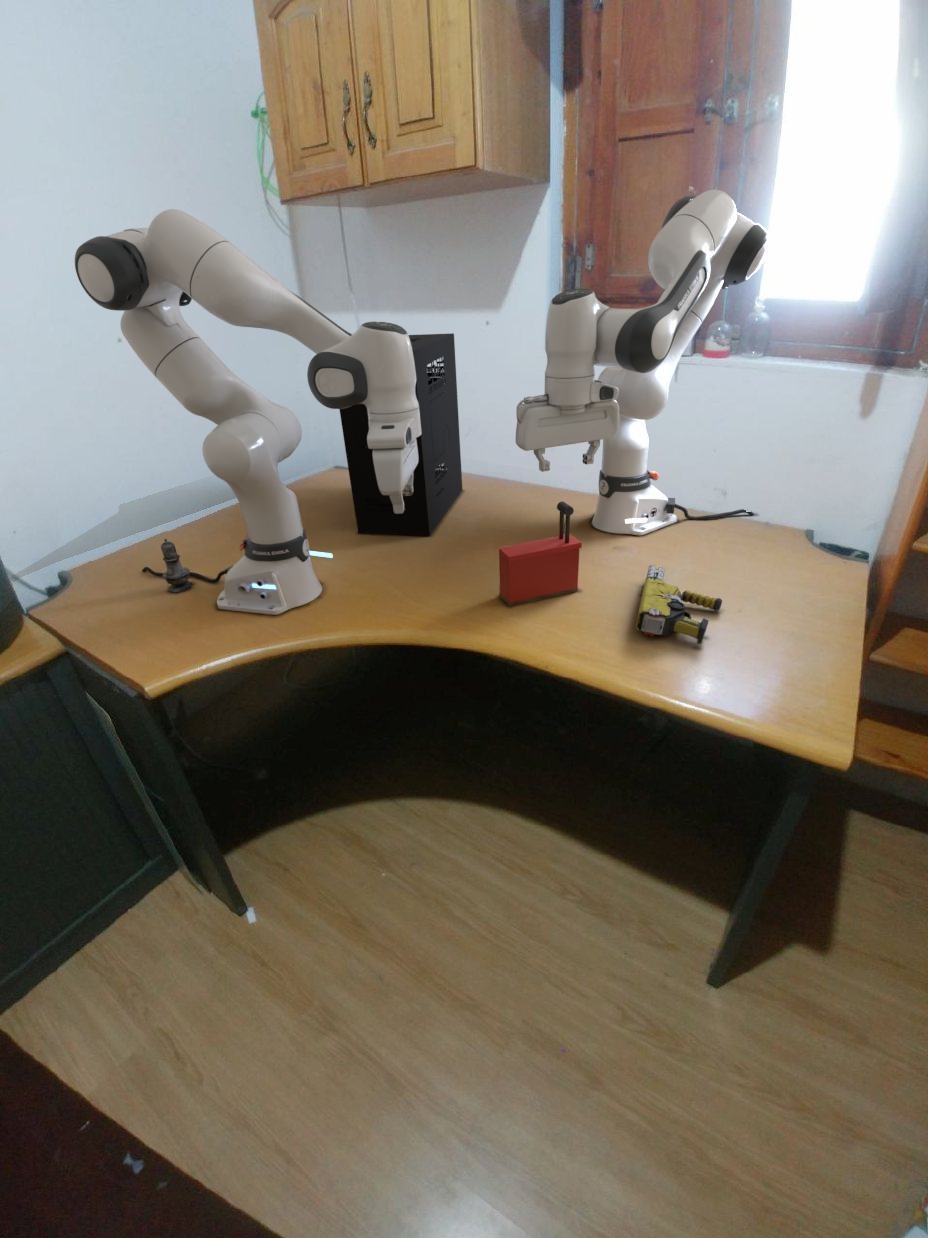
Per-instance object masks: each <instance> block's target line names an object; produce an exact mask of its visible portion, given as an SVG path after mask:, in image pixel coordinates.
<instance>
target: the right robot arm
mask: <svg viewBox="0 0 928 1238" xmlns="http://www.w3.org/2000/svg"><path fill="white" fill-rule="evenodd" d="M770 244H771V234H770V232H769V231H768V230H767V229H766V228H765V227H764V226H763V225H761V224H760V223H759V222H757V223H755V222H753V221H752V220H751V219H749V218H747V217H746V216H745V215H743V214H741V213H739V212H737V208H736V204H735V202H734V200H733V198H732V197H730V195H729V194H727V193H726V192H725V191H723V190H719V189H709V190H705V191H704V192H701V193H699V195H697V196H695V195H686V196H683V197H681V198H679V199H677V200H676V201H675V202H674V203H673V205H672V206H671V208H670V209H669V210H668V212H667V214H666V216H665V218H664V220H663V223H662V225H661V229H660V230H659V231H658V233H657V234H656V235H655V237H654V238H653V240H652V242H651V244H650V246H649V248H648V254H647V263H648V268H649V272H650V273H651V277H652V278H653V280H654V281H655V283H656V284H657V285H658V286H659V287H660V288H661V289H663V290H664V291H663V293H662V294H661V295H660V297H659V298H658V300H657V301H656V302H655V303H654V304H653V305H648V306H646V307H645V306H644V307H639V308H617V307H610V306H608V305H606V304H604V303H602V302H601V301H600V300H599V299H598V298H597V296H596V293H595V291H594V290H592V289H589V288H575V289H572V290H565V291H562V292H560V293H558V294H556V295H555V296H554V297H553V298H552V299H551V300H550V303H549V304H548V305H549V306H548V309H547V315H546V320H545V321H546V322H545V336H544V338H545V339H544V351H545V354H546V367H545V371H544V393H543V394H540V395H535V396H526V397H524V398H523V399H522V400H520V401H519V402H518V403H517V406H516V428H515V444H516V446H517V447H518V448H519V449H521V450H523V451H524V452H530V451H533V455H534V456H535V458H536V459H537V461H538V470H539V471H540V472H542V473H544V472H548V471H550V470H551V467H550V466H551V462H550V461H549V460H547V459H545V457H544V455H545V454H546V449H549V448H556V447H563V446H568V445H576V444H582V443H587V444H588V445H589V447H588V448H587V451H586V452H585V453H582V464H584V465H587V466H588V465H592V464H594V460H595V455H596V453H597V451H598V450H599V448H600V446H601V441H602V453H601V468H600V470H599V474H598V492H599V493H598V498H597V502H596V507H595V511H594V514H593V517H592V520H591V525H592V526H593V527H594V528H595V529H597V530H599V531H601V532H605V533H611V534H623V535H625V534H626V535H632V536H633V535H634V536H645V535H646V534H650V533H652V532H654V531H657V530H660V529H662V528H665V527H668V526H670V525H672V524H675V523H677V522H678V516H677V515H676V514H675V509H677V510H680V511H681V512H683V515H684V518H686V519H688V520H691V521H702V520H709V519H719V518H723V517H729V516H735V515H739V514H748V515H749V516H751V517H753V516H755V513H754V512H753V511H751V510H750V511H751V512H746V510H744V509H745V508H741V509H737V510H733V511H726V512H720V513H715V514H708V515H707V514H706V515H700V516H699V515H697V516H693V515H690V514H689V512H688V510H687V509H686V508H685V507H684V506H682V505H679V504H677V503H676V497H667V496H666V495H665V494H664V493H663V492H661V491H660V490H659V489H658V488H656V487H655V486H654V485H652V483H651V480H653V481H658V479H659V478H660V473H659V472H657V471H654V470H651V471H649V470H648V469H647V466H648V458H649V457H648V456H649V446H650V438H649V434H648V431H647V427H646V421H649V420H652V419H655V418H656V417H658V416H659V415H660V414H661V413H662V412H663V411H664V410H665V408H666V407H667V404H668V401H669V396H670V392H669V389H670V384H671V382H672V379H673V377H674V373H675V372H676V369H677V366H678V363H679V361H680V359H681V357H682V355H683V354H684V352H685V351H686V349H687V347H688V345H689V344H690V342H691V341H692V339H693V338H694V336H695V335H696V333H697V331H698V330H699V329H700V327H701V325H702V323H704V320H705V319H706V318H707V315H708V314H709V313H710V310H712V307H713V305H714V304H715V301H716V300H717V299H716V298H717V297H718V295H719V293H720V290H727V289H729V287H731V286H737V285H739V284H742V283H744V282H746V281H748V280H749V279H750V278H751V277H752V276H753V275H754V274H755V273H756V272H757V271H758V270H759V269H760V268H761V266H762V264H763V263H764V261H765V259H766V257H767V254H768V251H769V248H770ZM594 366H596V367H603V368H604V369H603V370H602V371H601V372H600V373H599V375H598V377H597V379H595V375H596V374H595V372H596V371H595V367H594Z"/></svg>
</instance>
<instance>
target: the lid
mask: <svg viewBox="0 0 928 1238" xmlns="http://www.w3.org/2000/svg"><path fill="white" fill-rule="evenodd" d="M556 510H557V511H559V522H558V524H559V525H558V526H559V527H558V531H559V532H558V536H554V537H549V538H542V539H538V540H537V539H536V540H533V541H528V542H522V543H518V544H511V545H507V546H501V547H499V548H498V555H499V554H500V555H501V556H502V557H503V558H505V559H506V560H507V561H508V562H514V561H519V560H524V559H529V558H534V557H539V556H544V555H549V554H554V553H559V552H564V551H569V550H574V549H579V550H580V549H582V548H583V542H582V541H581V540H579V539H577V538H576V537H574V536H573V535H572V534H571V533H570V531H571V516H572V515H573V514H574V507H572V506H571V505H569V504H568V503H566V502H564V501H559V502H558V503H557V504H556Z"/></svg>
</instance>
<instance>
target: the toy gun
mask: <svg viewBox="0 0 928 1238" xmlns="http://www.w3.org/2000/svg"><path fill="white" fill-rule="evenodd" d="M655 570H656V571H657V570H658V571H657V572H655ZM664 576H665V567H664V566H660V565H659V566H658V568H656V564H655V565H654V564H650V565H649V566H648V568H647V573H646V577H645V580H644V584H643V589H642V593H641V598H640V602H639V608H638V612H637V613H638V614H637V618H636V623H635V628H636V629H637V631H639V632H642V633H643V632H644V635H645V636H650V637H654V636H655V635H658V636H666V635H669V634H671V633H673V632H675V633H679V634H682V635H686V636H689V637H691V638H694V639H696V640H697V644H700V645H701V644H702V643H703V640H704V638H705V635H706V632H707V629H708V625H709V621H710V620H709V619H706V618H705V617H704V618H702V620H701V622H700V621H698V620H694V619H692V615H691V614H690V612H689V611H686V610H687V609H686V605H685V604H684V603H683V602H685V603H689V604H692V605H696V606H699V607H701V606H702V607H703V608H705V609H706V608H709V610H713V611H715V612H719V611H720V609H721V608H722V603H723V599H722V598H720V597H718V598H717V597H715V596H714V597H711V596H710V595H704V594H703V593H697V592H695V591H694V592H691V590H688V589H685V590H684V591H682V593H681V589H680V588H678V586H676V585H671V584H669V583H667V582H664Z"/></svg>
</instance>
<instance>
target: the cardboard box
mask: <svg viewBox="0 0 928 1238" xmlns="http://www.w3.org/2000/svg"><path fill="white" fill-rule="evenodd" d="M408 335H409V338H410V341H411V345H412V350H413V356H414V362H415V370H416V386H415V393H416V398H417V400H418V403H419V411H420V422H421V432H422V434H421V435H420V436H419V437H417V438H416V441H417V448H418V457H419V460H418V464H417V466H416V468H415V470H414V472H413V491H414V492H413V494H412V495H411V496H404V495H403V494H402V497H403V501H404V504H405V510H404V512H403V513H400V514H396V513H394V510H393V504H392V502H391V499H390V496H389V495H382V494H381V492H380V490H379V487H378V483H377V478H376V473H375V468H374V463H373V449H369V448H368V444H367V435H368V431H369V419H368V412H367V407H366V406H365V405H364V404H356V405H353V406H351V407H348V408H344V409H338V410H339V416H340V422H341V430H342V436H343V443H344V449H345V455H346V462H347V469H348V476H349V482H350V490H351V496H352V504H353V510H354V517H355V523H356V529H357V534H373V535H374V534H375V535H376V534H377V535H396V536H397V535H400V536H401V535H402V536H421V537H422V536H423V537H431V535H432V534H433V532H434V531H435V529H436V528H437V526H438V525H439V524H440V522H441V521H442V520H443V518H444V517H445V516H446V514H447V513H448V512H449V509H451V507H452V506H453V504H454V503H455V501H456V500H457V499H458V497H459V496H460V495H461V494H462V491H463V475H462V458H461V457H462V456H461V455H462V454H461V440H460V437H461V436H460V421H459V418H460V417H459V404H458V403H459V402H458V400H459V399H458V383H457V381H458V380H457V365H456V363H457V362H456V346H455V345H456V344H455V333H453V332H452V333H429V334H427V333H426V334H425V333H424V334H423V333H422V334H408ZM438 360H439V361H438ZM435 363H436V364H435ZM428 365H430V366H428Z"/></svg>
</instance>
